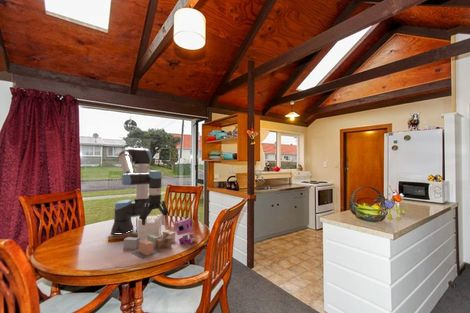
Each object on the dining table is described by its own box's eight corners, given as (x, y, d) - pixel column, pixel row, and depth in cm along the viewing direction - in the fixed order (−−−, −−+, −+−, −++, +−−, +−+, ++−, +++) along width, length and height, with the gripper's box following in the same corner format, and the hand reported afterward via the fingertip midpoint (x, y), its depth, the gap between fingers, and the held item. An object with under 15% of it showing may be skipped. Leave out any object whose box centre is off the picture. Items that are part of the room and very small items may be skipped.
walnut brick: (158, 250, 133) (159, 241, 133) (156, 248, 136) (156, 239, 136) (171, 247, 138) (171, 238, 138) (168, 245, 141) (168, 236, 141)
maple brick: (162, 240, 150) (162, 231, 150) (167, 238, 153) (167, 230, 153) (170, 242, 146) (170, 233, 146) (174, 241, 149) (175, 232, 149)
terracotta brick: (139, 251, 129) (139, 241, 130) (145, 249, 133) (145, 239, 133) (147, 255, 125) (147, 244, 125) (153, 253, 128) (153, 242, 128)
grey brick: (123, 249, 134) (123, 239, 134) (127, 246, 138) (127, 237, 138) (135, 249, 134) (136, 240, 134) (139, 247, 138) (139, 237, 138)
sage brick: (147, 244, 142) (147, 235, 142) (152, 243, 145) (152, 233, 145) (154, 247, 137) (155, 238, 137) (160, 245, 140) (160, 236, 140)
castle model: (136, 242, 145) (137, 220, 145) (141, 235, 159) (141, 214, 159) (159, 241, 148) (159, 219, 148) (161, 234, 162) (162, 214, 162)
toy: (190, 243, 142) (184, 221, 144) (179, 246, 143) (173, 224, 145) (196, 238, 152) (191, 217, 154) (186, 241, 154) (181, 220, 156)
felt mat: (130, 254, 127) (130, 253, 127) (149, 247, 137) (149, 246, 137) (142, 259, 120) (142, 258, 120) (161, 252, 130) (161, 251, 130)
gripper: (140, 197, 129) (139, 233, 129) (174, 192, 150) (173, 223, 149) (133, 196, 133) (132, 231, 133) (167, 191, 154) (166, 222, 153)
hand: (154, 227), depth 141 cm, fingers open, 13 cm apart
